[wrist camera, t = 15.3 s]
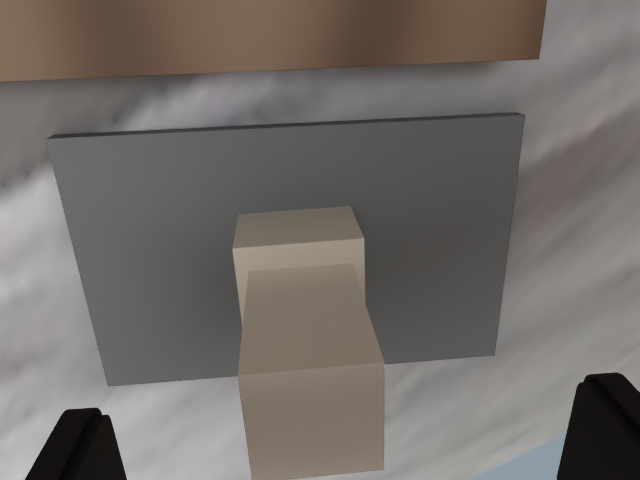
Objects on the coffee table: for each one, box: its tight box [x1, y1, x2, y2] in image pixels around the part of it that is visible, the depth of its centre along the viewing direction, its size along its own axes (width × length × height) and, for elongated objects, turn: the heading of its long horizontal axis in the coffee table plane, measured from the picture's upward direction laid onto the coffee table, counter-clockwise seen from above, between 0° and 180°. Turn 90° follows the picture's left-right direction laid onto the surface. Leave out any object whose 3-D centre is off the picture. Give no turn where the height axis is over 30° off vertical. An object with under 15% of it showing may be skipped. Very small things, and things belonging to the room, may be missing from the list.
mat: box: [46, 113, 525, 386], centre depth 19 cm, size 16×10×1 cm, turn 92°
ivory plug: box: [232, 206, 384, 480], centre depth 15 cm, size 4×5×8 cm
